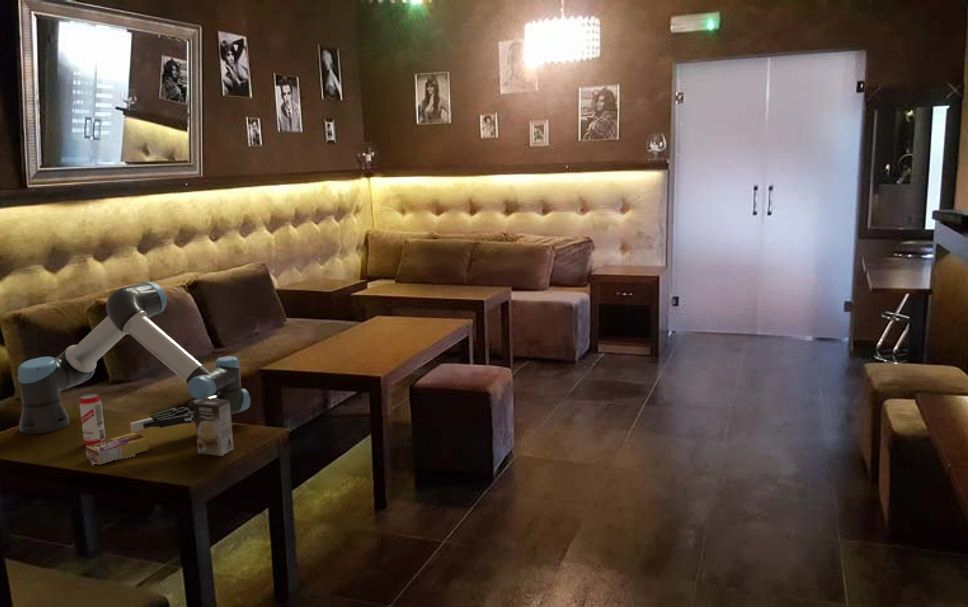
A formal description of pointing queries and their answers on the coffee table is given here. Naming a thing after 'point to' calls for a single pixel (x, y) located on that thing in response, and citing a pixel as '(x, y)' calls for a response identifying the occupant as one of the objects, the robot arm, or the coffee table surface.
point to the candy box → (117, 448)
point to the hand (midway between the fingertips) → (131, 427)
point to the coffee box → (213, 426)
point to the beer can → (92, 419)
